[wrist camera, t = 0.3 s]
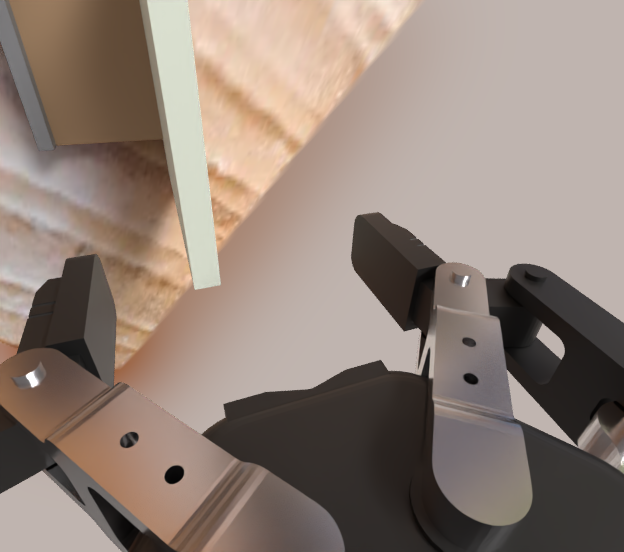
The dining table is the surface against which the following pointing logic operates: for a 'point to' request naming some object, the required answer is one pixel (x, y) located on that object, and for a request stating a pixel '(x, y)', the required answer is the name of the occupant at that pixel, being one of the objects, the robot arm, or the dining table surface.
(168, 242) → the dining table surface
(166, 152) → the cleat board
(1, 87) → the dining table surface
